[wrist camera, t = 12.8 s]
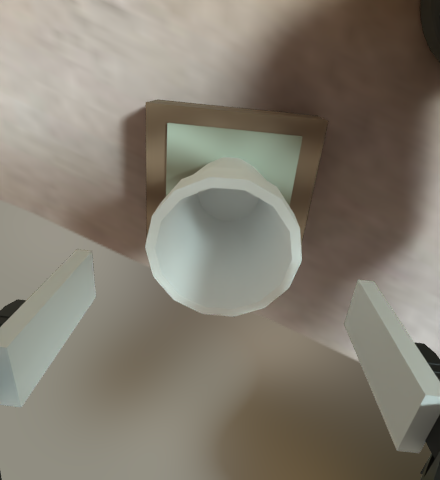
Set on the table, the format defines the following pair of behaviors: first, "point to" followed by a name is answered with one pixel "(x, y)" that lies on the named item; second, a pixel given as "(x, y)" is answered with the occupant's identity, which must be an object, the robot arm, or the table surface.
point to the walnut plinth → (232, 148)
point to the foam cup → (224, 240)
